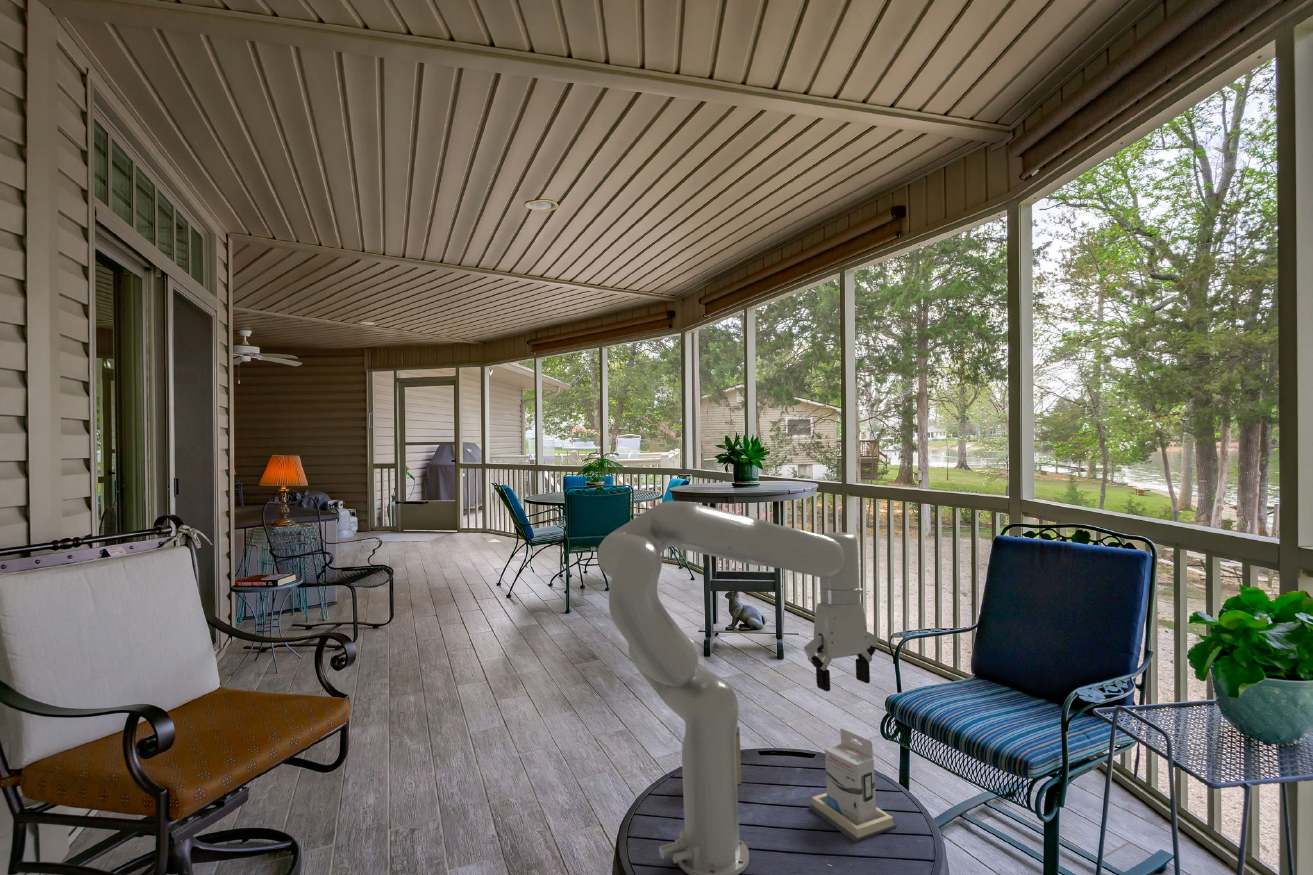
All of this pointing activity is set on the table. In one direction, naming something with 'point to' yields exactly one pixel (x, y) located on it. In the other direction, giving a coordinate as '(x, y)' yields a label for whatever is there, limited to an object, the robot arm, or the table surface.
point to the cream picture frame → (846, 826)
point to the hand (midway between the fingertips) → (843, 685)
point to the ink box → (851, 778)
